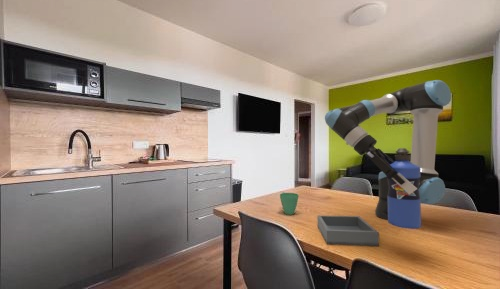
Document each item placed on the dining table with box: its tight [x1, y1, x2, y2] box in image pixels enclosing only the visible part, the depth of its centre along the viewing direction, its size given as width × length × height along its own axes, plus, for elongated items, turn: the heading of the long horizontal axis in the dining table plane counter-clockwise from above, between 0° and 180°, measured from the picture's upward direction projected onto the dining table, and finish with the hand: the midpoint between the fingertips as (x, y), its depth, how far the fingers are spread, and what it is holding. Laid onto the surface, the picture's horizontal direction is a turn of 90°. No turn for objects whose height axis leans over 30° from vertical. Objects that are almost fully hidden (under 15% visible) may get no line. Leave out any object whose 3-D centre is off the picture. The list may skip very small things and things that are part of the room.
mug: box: [279, 191, 299, 216], centre depth 121 cm, size 15×10×10 cm
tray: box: [316, 214, 380, 247], centre depth 89 cm, size 18×18×5 cm
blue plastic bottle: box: [387, 147, 422, 230], centre depth 73 cm, size 9×9×25 cm
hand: (415, 188), depth 71 cm, fingers closed on blue plastic bottle, 9 cm apart
